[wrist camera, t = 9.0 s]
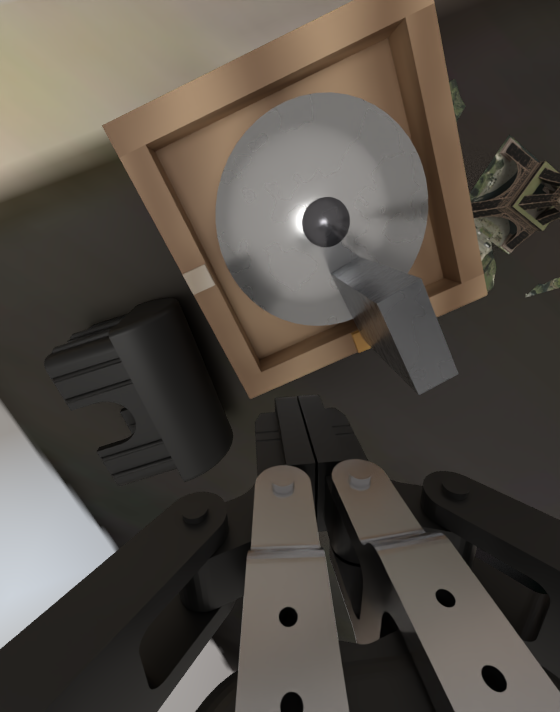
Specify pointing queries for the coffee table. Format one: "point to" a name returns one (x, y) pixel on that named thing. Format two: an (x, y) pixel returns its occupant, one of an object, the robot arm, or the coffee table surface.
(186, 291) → the coffee table surface
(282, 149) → the dial
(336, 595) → the coffee table surface
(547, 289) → the eiffel tower figurine
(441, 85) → the wooden square tray
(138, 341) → the end cap
